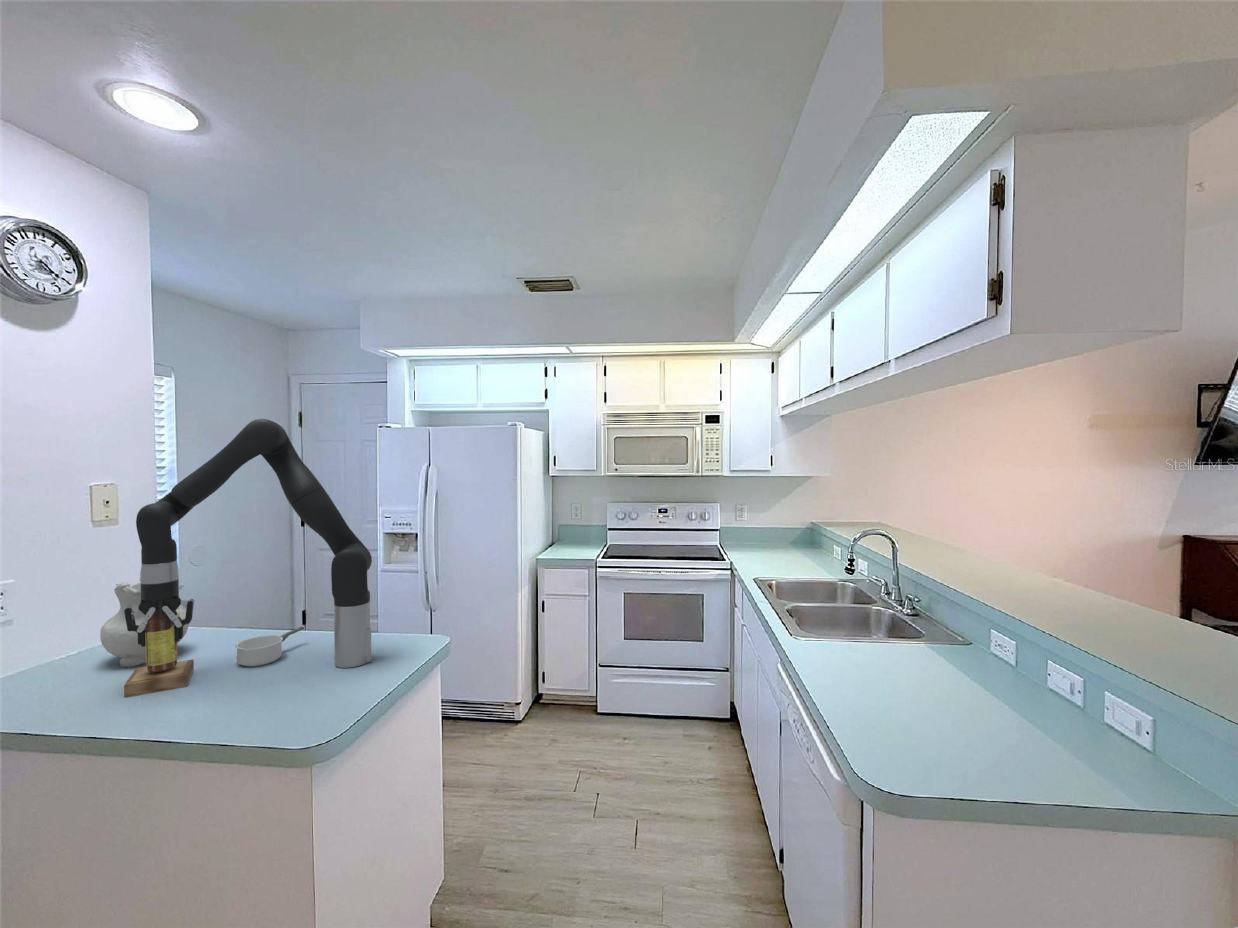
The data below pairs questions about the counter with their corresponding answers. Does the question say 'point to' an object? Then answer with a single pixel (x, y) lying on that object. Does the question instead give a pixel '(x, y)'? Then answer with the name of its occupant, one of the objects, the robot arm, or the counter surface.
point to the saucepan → (261, 649)
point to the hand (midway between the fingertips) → (161, 642)
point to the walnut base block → (158, 679)
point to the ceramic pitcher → (116, 631)
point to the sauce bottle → (160, 640)
